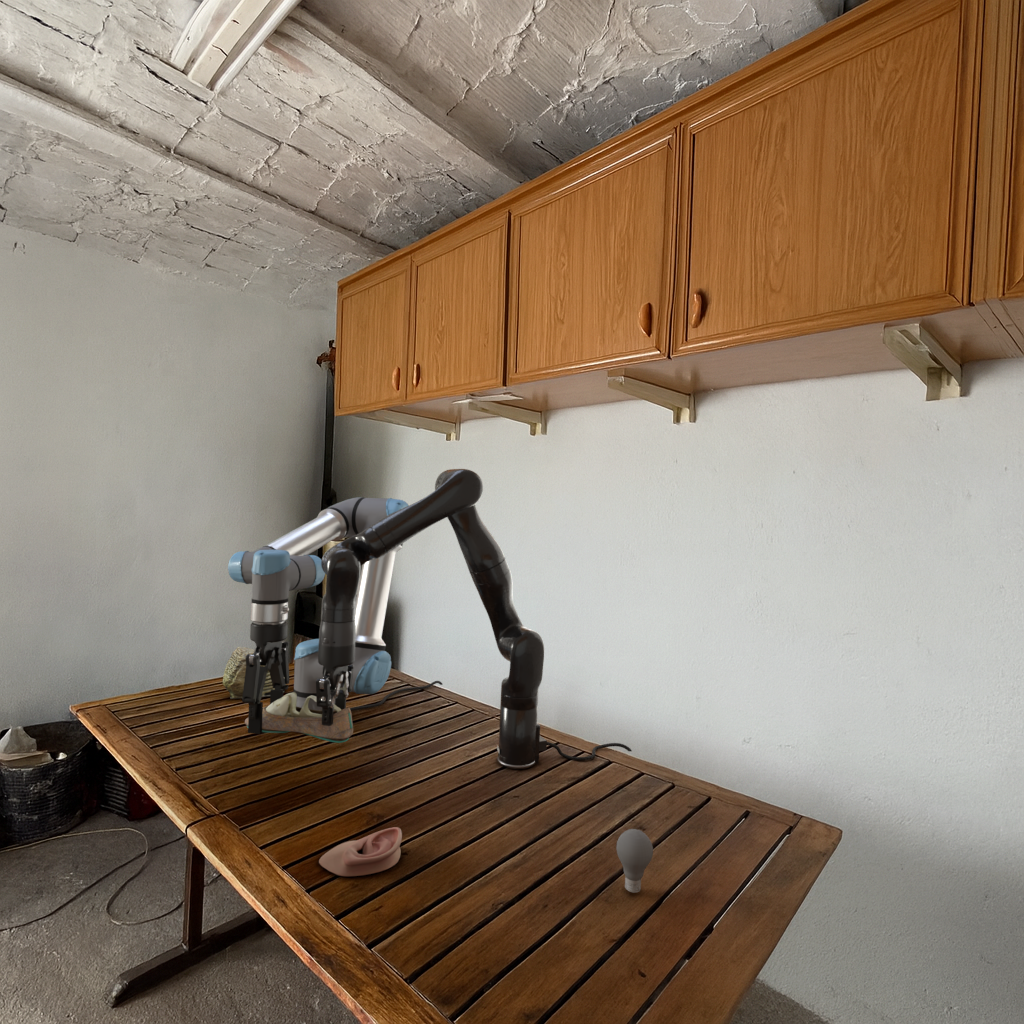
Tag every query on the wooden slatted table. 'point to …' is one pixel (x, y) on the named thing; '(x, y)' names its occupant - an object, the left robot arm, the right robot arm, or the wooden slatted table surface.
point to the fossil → (241, 674)
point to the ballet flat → (305, 720)
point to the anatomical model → (365, 854)
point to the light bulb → (634, 857)
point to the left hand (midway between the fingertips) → (265, 725)
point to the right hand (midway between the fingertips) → (333, 719)
